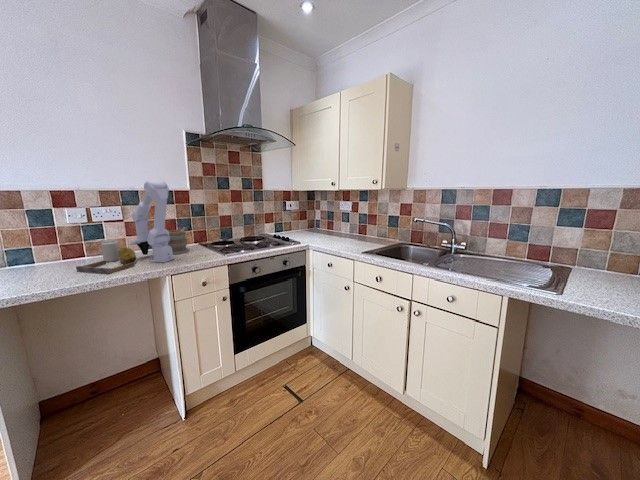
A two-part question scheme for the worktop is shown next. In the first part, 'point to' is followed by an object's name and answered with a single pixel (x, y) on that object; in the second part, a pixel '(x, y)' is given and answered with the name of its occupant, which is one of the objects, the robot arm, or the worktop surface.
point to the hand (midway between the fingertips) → (145, 254)
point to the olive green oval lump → (127, 255)
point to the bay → (95, 269)
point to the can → (110, 250)
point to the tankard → (178, 241)
